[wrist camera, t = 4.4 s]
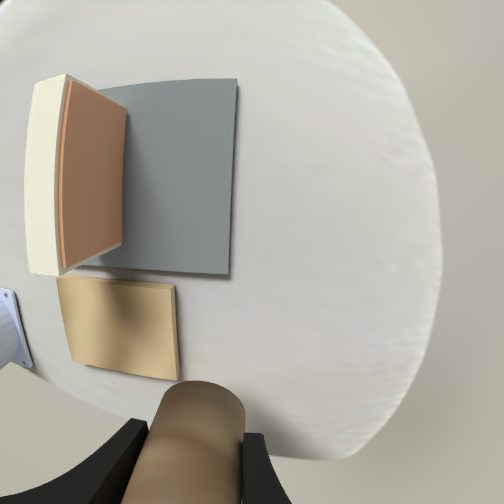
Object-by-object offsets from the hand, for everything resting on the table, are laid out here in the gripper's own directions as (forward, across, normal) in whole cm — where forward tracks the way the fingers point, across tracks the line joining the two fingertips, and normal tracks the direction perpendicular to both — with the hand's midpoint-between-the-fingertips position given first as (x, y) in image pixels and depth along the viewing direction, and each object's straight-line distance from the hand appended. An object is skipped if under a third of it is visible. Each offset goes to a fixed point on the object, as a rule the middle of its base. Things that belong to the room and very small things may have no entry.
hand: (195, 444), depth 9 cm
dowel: (+2, 0, 0) cm, 2 cm away
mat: (+10, +6, -10) cm, 15 cm away
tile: (+10, +8, -10) cm, 16 cm away
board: (+10, +8, +1) cm, 13 cm away
